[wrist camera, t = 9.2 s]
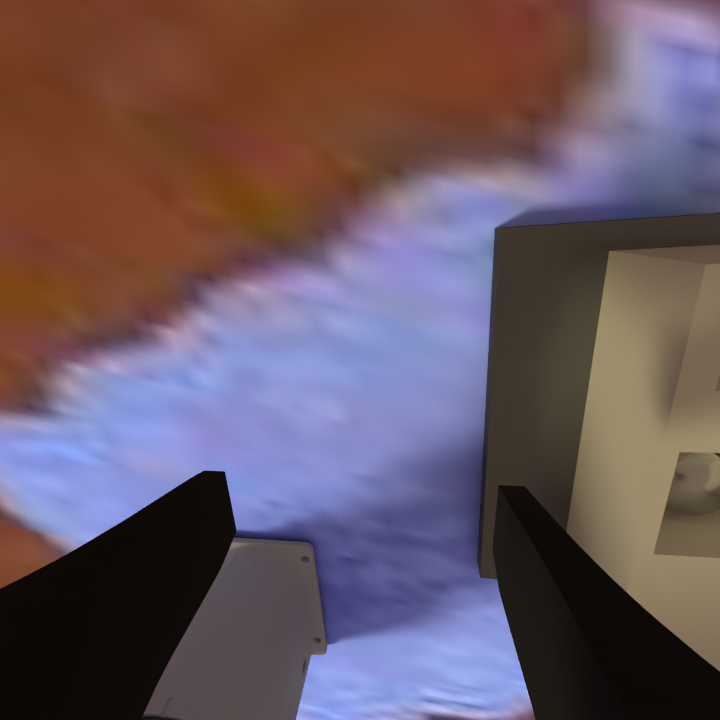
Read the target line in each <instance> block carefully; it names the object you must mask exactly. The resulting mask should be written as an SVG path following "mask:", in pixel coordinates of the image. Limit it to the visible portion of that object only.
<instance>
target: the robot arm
mask: <svg viewBox="0 0 720 720" xmlns="http://www.w3.org/2000/svg"><path fill="white" fill-rule="evenodd" d="M235 533H236V526H235V521H234V516H233V511H232V506H231V501H230V496H229V491H228V486H227V481H226V475H225V472H221V471H203V472H201V473H199V474H197V475H195V476H194V477H192V478H190V479H189V480H187V481H186V482H184V483H182V484H181V485H179V486H178V487H176V488H174V489H173V490H171V491H170V492H168V493H167V494H165V495H164V496H162V497H160V498H159V499H157V500H156V501H154V502H153V503H151V504H149V505H148V506H146V507H145V508H143V509H142V510H140V511H138V512H137V513H135V514H134V515H132V516H131V517H129V518H127V519H126V520H124V521H123V522H121V523H119V524H118V525H116V526H114V527H113V528H111V529H109V530H108V531H106V532H104V533H102V534H101V535H99V536H97V537H96V538H94V539H92V540H91V541H89V542H87V543H86V544H84V545H82V546H81V547H79V548H77V549H76V550H74V551H72V552H70V553H68V554H67V555H65V556H63V557H61V558H59V559H57V560H56V561H54V562H52V563H50V564H48V565H46V566H44V567H42V568H40V569H39V570H37V571H35V572H33V573H31V574H29V575H27V576H25V577H23V578H21V579H19V580H17V581H15V582H13V583H11V584H9V585H7V586H5V587H3V588H1V589H0V720H296V716H297V712H298V708H299V703H300V699H301V695H302V691H303V687H304V682H305V678H306V674H307V670H308V666H309V662H310V657H311V654H313V655H324V654H325V653H326V651H327V640H326V632H325V625H324V618H323V611H322V604H321V597H320V589H319V582H318V575H317V568H316V561H315V554H314V548H313V546H312V545H311V544H310V543H308V542H299V541H282V540H266V539H249V538H234V536H235ZM492 550H493V556H494V562H495V568H496V574H497V580H498V585H499V591H500V595H501V599H502V602H503V606H504V609H505V613H506V617H507V620H508V624H509V627H510V631H511V634H512V638H513V641H514V645H515V648H516V652H517V655H518V659H519V662H520V665H521V669H522V672H523V676H524V679H525V683H526V686H527V690H528V693H529V697H530V700H531V704H532V707H533V711H534V715H535V719H536V720H720V671H719V670H717V669H716V668H715V667H714V666H712V665H711V664H710V663H709V662H707V661H706V660H705V659H704V658H702V657H701V656H700V655H699V654H697V653H696V652H695V651H694V650H693V649H691V648H690V647H689V646H688V645H687V644H685V643H684V642H683V641H682V640H681V639H680V638H678V637H677V636H676V635H675V634H674V633H672V632H671V631H670V630H669V629H668V628H666V627H665V626H664V625H663V624H662V623H660V622H659V621H658V620H657V619H656V618H655V617H654V616H652V615H651V614H650V613H649V612H648V611H647V610H646V609H644V608H643V607H642V606H641V605H640V604H639V603H638V602H637V601H636V600H634V599H633V598H632V597H631V596H630V595H629V594H628V593H627V592H626V591H625V590H624V589H623V588H622V587H621V586H620V585H618V584H617V583H616V582H615V581H614V580H613V579H612V578H611V577H610V576H609V575H608V574H607V573H606V572H605V571H604V570H603V569H602V568H601V567H600V566H599V565H598V564H597V563H596V562H595V561H594V560H593V559H592V558H591V557H590V556H589V555H588V554H587V553H586V552H585V551H584V550H583V549H582V548H581V547H580V546H579V545H578V544H577V543H576V542H575V541H574V540H573V539H572V537H571V536H570V535H569V534H568V533H567V532H566V531H565V530H564V529H563V528H562V527H561V526H560V525H559V524H558V522H557V521H556V520H555V519H554V518H553V517H552V516H551V515H550V514H549V513H548V511H547V510H546V509H545V508H544V507H543V506H542V505H541V504H540V503H539V501H538V500H537V499H536V498H535V497H534V496H533V495H532V494H531V493H530V491H529V490H528V489H527V488H526V487H525V486H509V485H498V495H497V506H496V516H495V526H494V537H493V547H492ZM305 556H306V557H305Z"/></svg>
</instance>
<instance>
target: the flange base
mask: <svg viewBox="0 0 720 720" xmlns="http://www.w3.org/2000/svg"><path fill="white" fill-rule="evenodd" d="M706 245H720V213H714V214H699V215H684V216H669V217H654V218H639V219H624V220H609V221H593V222H578V223H563V224H548V225H533V226H518V227H503V228H495V239H494V258H493V277H492V296H491V315H490V333H489V352H488V371H487V390H486V409H485V428H484V447H483V466H482V485H481V504H480V523H479V542H478V561H477V562H478V568H479V573H480V578H492V579H497V574H496V568H495V562H494V556H493V550H492V547H493V537H494V526H495V516H496V506H497V495H498V485H509V486H525V487H526V488H527V489H528V490H529V491H530V493H531V494H532V495H533V496H534V497H535V498H536V499H537V500H538V501H539V503H540V504H541V505H542V506H543V507H544V508H545V509H546V510H547V511H548V513H549V514H550V515H551V516H552V517H553V518H554V519H555V520H556V521H557V522H558V524H559V525H560V526H561V527H562V528H563V529H564V530H565V531H567V524H568V518H569V511H570V505H571V498H572V492H573V485H574V479H575V472H576V465H577V459H578V452H579V446H580V439H581V433H582V426H583V420H584V413H585V406H586V400H587V393H588V387H589V380H590V374H591V367H592V361H593V354H594V348H595V341H596V334H597V328H598V321H599V315H600V308H601V302H602V295H603V289H604V282H605V275H606V269H607V262H608V256H609V251H615V250H633V249H651V248H669V247H688V246H706ZM666 505H667V507H669V508H670V509H671V510H673V511H674V512H677V513H679V514H682V515H688V516H701V515H707V514H711V513H714V512H716V511H718V510H720V457H718V456H717V455H716V454H715V453H702V452H680V453H679V457H678V460H677V464H676V468H675V472H674V476H673V480H672V484H671V487H670V491H669V495H668V499H667V503H666Z"/></svg>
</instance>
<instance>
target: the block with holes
mask: <svg viewBox="0 0 720 720" xmlns="http://www.w3.org/2000/svg"><path fill="white" fill-rule="evenodd" d="M680 452H702V453H715V454H716V455H717V456H718V457H720V245H706V246H688V247H669V248H651V249H633V250H615V251H609V256H608V262H607V269H606V275H605V282H604V289H603V295H602V302H601V308H600V315H599V321H598V328H597V334H596V341H595V348H594V354H593V361H592V367H591V374H590V380H589V387H588V393H587V400H586V406H585V413H584V420H583V426H582V433H581V439H580V446H579V452H578V459H577V465H576V472H575V479H574V485H573V492H572V498H571V505H570V511H569V518H568V524H567V531H566V532H567V533H568V534H569V535H570V536H571V537H572V539H573V540H574V541H575V542H576V543H577V544H578V545H579V546H580V547H581V548H582V549H583V550H584V551H585V552H586V553H587V554H588V555H589V556H590V557H591V558H592V559H593V560H594V561H595V562H596V563H597V564H598V565H599V566H600V567H601V568H602V569H603V570H604V571H605V572H606V573H607V574H608V575H609V576H610V577H611V578H612V579H613V580H614V581H615V582H616V583H617V584H618V585H620V586H621V587H622V588H623V589H624V590H625V591H626V592H627V593H628V594H629V595H630V596H631V597H632V598H633V599H634V600H636V601H637V602H638V603H639V604H640V605H641V606H642V607H643V608H644V609H646V610H647V611H648V612H649V613H650V614H651V615H652V616H654V617H655V618H656V619H657V620H658V621H659V622H660V623H662V624H663V625H664V626H665V627H666V628H668V629H669V630H670V631H671V632H672V633H674V634H675V635H676V636H677V637H678V638H680V639H681V640H682V641H683V642H684V643H685V644H687V645H688V646H689V647H690V648H691V649H693V650H694V651H695V652H696V653H697V654H699V655H700V656H701V657H702V658H704V659H705V660H706V661H707V662H709V663H710V664H711V665H712V666H714V667H715V668H716V669H717V670H719V671H720V510H718V511H716V512H714V513H711V514H707V515H701V516H688V515H682V514H679V513H677V512H674V511H673V510H671V509H670V508H669V507H667V505H666V503H667V499H668V495H669V491H670V487H671V484H672V480H673V476H674V472H675V468H676V464H677V460H678V457H679V453H680Z"/></svg>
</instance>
